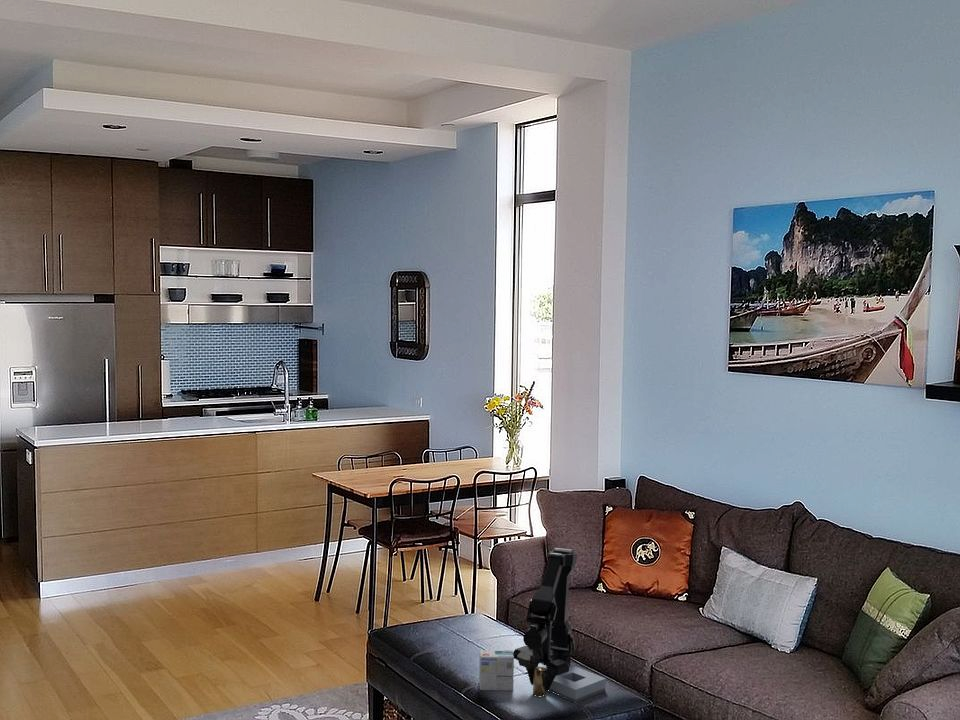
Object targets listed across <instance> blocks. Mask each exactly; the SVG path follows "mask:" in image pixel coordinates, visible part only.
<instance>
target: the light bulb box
mask: <svg viewBox="0 0 960 720" xmlns="http://www.w3.org/2000/svg"><path fill="white" fill-rule="evenodd" d="M513 652H514V650H513V649H480V650H479V665H478V668H479V671H478V672H479V675H478V680H479V681H478V682H479V683H478V684H479V691H514V669H515V668H514V666H515V665H514V664H515V659H514V656H513Z"/></svg>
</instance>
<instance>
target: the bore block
mask: <svg viewBox="0 0 960 720" xmlns="http://www.w3.org/2000/svg"><path fill="white" fill-rule="evenodd" d="M570 665H571V664H570ZM606 679H607V678H606V677H603V676H601V675H598V674H595V673H592V672H590V671H588V670H585V669H584V668H580V667H578V666H575V665H571V666H569V672H566V673H563V674H560V675H556V677H555V679H554V680H553V682H552V684H551V686H550V688H549V691H551V692H554V693H556V694H559V695H561V696H562V697H561V696H560V697H561V698H563V697H565V698H567V699H566V700H568V699H569V700H568V701H570V700H571V701H570V702H572V701H573V702H572V703H575V702H576V703H579V702H581V701H583V699H584V700H586V699H588V698H591V697H594V696H596V695H599V694H601V693H604V692H606V684H607V682H606V681H607V680H606ZM549 691H548V692H549ZM551 692H550V693H551ZM554 693H553V694H554ZM556 694H555V695H556ZM565 698H564V699H565Z"/></svg>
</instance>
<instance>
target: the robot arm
mask: <svg viewBox="0 0 960 720" xmlns="http://www.w3.org/2000/svg"><path fill="white" fill-rule="evenodd" d="M577 560H578V554H577V553H576V552H575V550H574V549H569V548H562V547H554V549H553V550H550V551H548V555H547V566H546V568H545V572H544V575H543V578H542V581H541V585H540V588H538V589H537V590H536V591H535V592H534V594H533V595H532V598H531V599H530V601H529V604H528V610H527V613H526V619H525V622H527V623H530V626H529V628H528V629H527V631H525V633H524V634H523V637H522V638H523V643H524V644H525V645H523V646H521V647H518V648H515V649H514V650H513V656H514V660H516V661H517V662H518V665H519V666H520V667H524V668H525V670H526V671H527V676H528V679H529V681H530V684H531V686H533V679H534V668H535V667H539V664H541V665H543V666H545V668H546V669H547V670H545V671H542V672H543V673H544V675H545V691H546V692H549V691H548V690H549V688H550V686H551V684H552V682H553V680H554V679H555V677H556V675H560V674H563V673H566V672H569V666H571V663H572V662H571V661H572V659H571V657H572V655H571V654H572V653H574V652H575V651H576V648H575V646H576V645H575V643H576V642H575V639H574V636H573V634H572V627H571V624H570V623H569V621H568V607H569V606H568V605H569V603H568V602H569V585H570V575H571V573H572V572H573V571H574V569H575V568H576V567H575V565H576V564H577Z"/></svg>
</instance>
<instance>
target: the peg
mask: <svg viewBox="0 0 960 720" xmlns="http://www.w3.org/2000/svg"><path fill="white" fill-rule="evenodd" d="M545 670H547V667H544V666H538V667H535V668H534V679H533V685H532V695H533V694H534V695H536V696H543V695H546V696H547V691H545V675H544V673H543V672H542V671H545ZM534 695H533V696H534Z"/></svg>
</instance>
